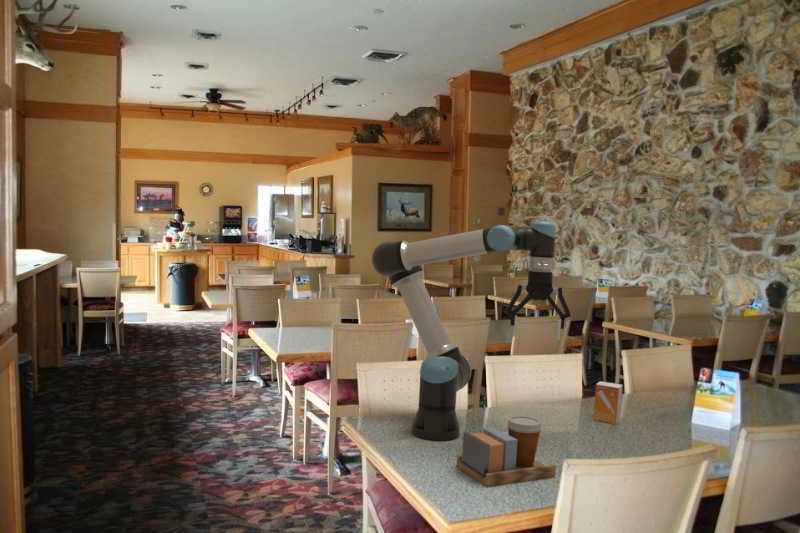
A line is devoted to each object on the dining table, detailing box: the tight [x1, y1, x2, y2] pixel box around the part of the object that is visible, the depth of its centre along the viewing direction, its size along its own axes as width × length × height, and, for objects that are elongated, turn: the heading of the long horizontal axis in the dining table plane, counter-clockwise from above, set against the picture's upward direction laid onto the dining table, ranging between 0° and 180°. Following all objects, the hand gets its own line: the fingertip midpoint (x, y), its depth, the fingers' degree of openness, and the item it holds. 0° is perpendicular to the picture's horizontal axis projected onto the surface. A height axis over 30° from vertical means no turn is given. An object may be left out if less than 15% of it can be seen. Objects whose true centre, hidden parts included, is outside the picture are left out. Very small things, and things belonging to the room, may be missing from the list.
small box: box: [592, 381, 623, 425], centre depth 236 cm, size 8×6×13 cm
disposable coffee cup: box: [506, 415, 543, 468], centre depth 183 cm, size 10×10×12 cm
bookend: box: [460, 431, 490, 478], centre depth 176 cm, size 2×11×8 cm, turn 26°
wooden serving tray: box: [456, 453, 557, 487], centre depth 181 cm, size 22×15×3 cm
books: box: [471, 427, 518, 473], centre depth 178 cm, size 8×11×9 cm
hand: (536, 337), depth 211 cm, fingers open, 13 cm apart
